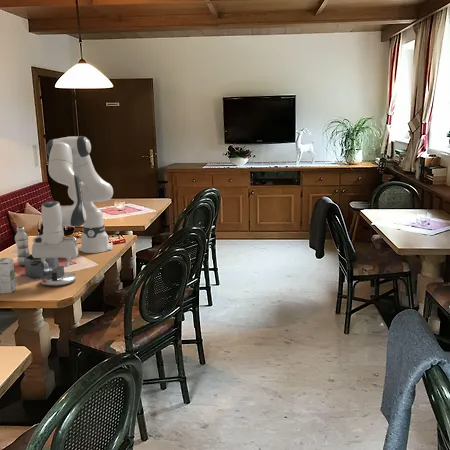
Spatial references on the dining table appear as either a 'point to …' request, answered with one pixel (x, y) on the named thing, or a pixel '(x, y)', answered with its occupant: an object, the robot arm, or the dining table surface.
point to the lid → (58, 277)
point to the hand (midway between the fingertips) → (56, 266)
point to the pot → (39, 266)
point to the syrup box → (7, 276)
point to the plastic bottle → (22, 245)
